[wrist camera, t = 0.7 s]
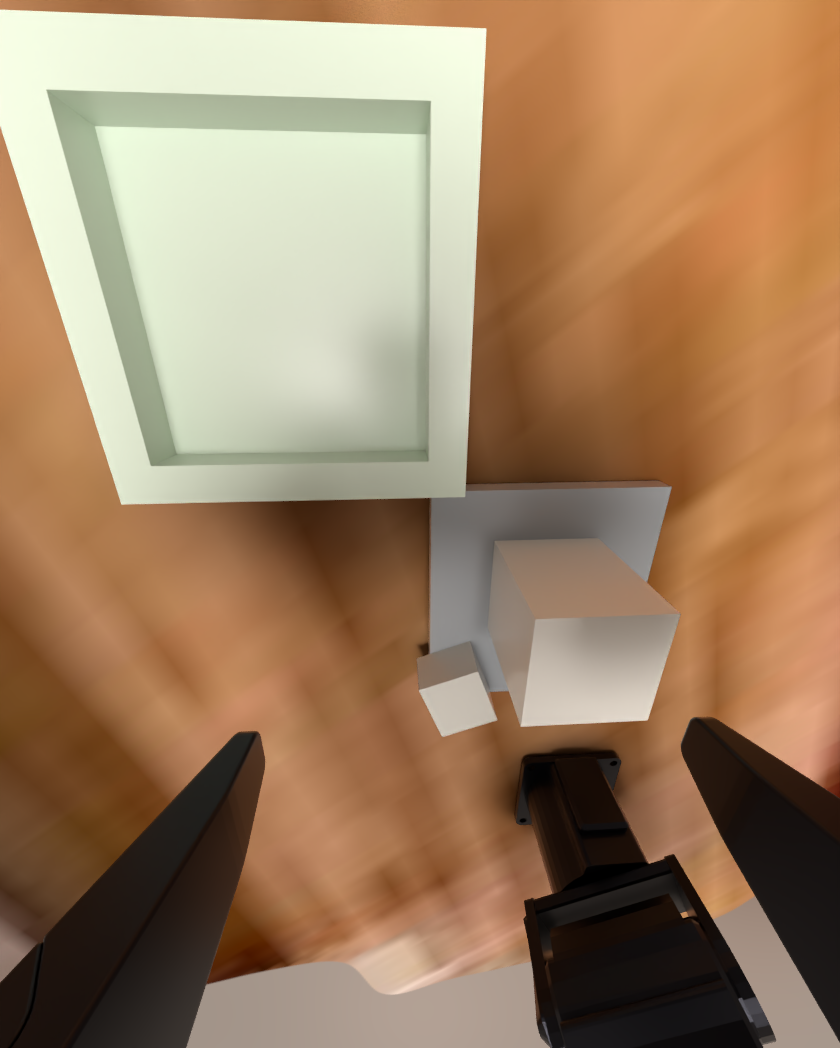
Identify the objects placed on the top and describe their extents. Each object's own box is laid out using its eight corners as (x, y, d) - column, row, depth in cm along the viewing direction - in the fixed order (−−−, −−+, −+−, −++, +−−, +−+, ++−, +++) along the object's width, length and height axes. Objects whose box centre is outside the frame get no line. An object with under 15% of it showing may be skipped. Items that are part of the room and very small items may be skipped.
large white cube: (581, 623, 21) (647, 720, 15) (487, 627, 21) (520, 726, 15) (597, 538, 19) (680, 613, 13) (494, 540, 19) (535, 619, 13)
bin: (456, 479, 18) (465, 496, 16) (156, 484, 18) (121, 504, 15) (470, 85, 13) (486, 28, 11) (42, 72, 12) (-38, 8, 10)
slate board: (615, 681, 24) (645, 726, 21) (416, 690, 23) (419, 738, 21) (666, 480, 19) (715, 503, 16) (414, 485, 18) (418, 509, 16)
